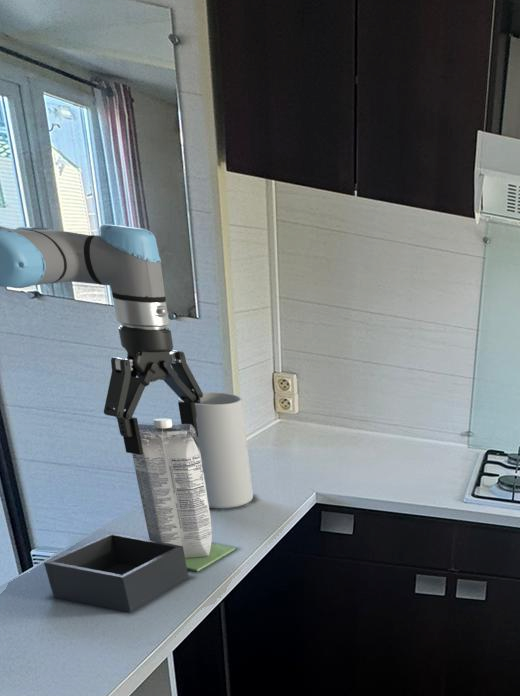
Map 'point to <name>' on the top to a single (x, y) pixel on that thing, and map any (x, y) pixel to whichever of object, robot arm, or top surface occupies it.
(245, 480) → the cylinder vase
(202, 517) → the juice carton
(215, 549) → the placemat
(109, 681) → the top surface
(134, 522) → the top surface
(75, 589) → the box
